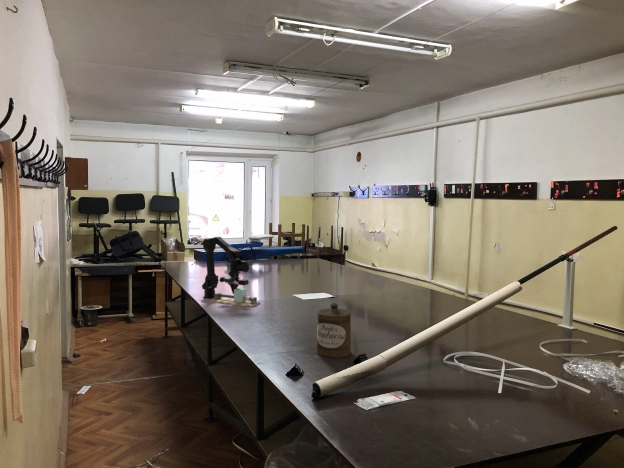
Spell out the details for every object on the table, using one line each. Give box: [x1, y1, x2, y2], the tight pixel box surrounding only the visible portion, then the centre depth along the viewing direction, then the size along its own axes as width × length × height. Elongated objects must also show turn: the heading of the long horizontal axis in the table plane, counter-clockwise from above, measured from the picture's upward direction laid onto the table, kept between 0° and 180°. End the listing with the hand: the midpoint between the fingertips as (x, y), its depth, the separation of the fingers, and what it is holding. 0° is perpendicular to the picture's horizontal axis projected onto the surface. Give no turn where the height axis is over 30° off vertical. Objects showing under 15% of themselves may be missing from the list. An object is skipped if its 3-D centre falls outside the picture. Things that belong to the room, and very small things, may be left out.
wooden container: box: [316, 302, 352, 359], centre depth 210 cm, size 15×15×22 cm
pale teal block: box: [233, 287, 247, 302], centre depth 304 cm, size 6×5×8 cm
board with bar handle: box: [210, 292, 261, 308], centre depth 306 cm, size 30×11×5 cm, turn 65°
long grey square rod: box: [218, 293, 255, 301], centre depth 306 cm, size 29×2×2 cm, turn 65°
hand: (233, 294), depth 306 cm, fingers closed
